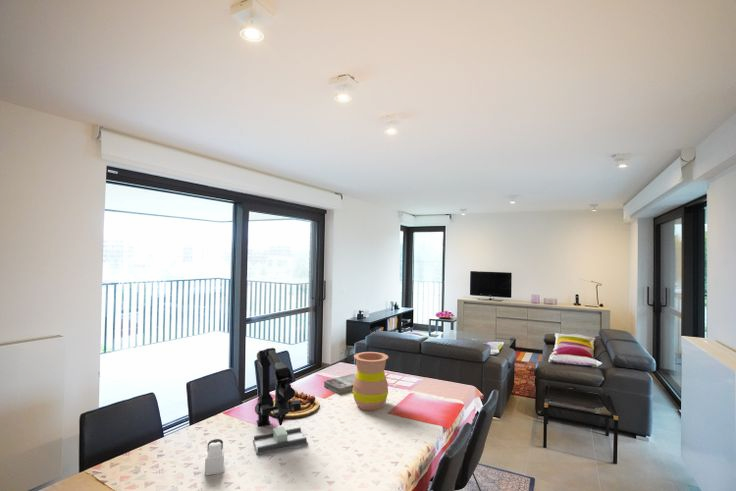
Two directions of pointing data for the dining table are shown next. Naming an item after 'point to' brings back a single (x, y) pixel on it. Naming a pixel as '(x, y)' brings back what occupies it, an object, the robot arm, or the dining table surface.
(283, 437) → the block
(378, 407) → the vase
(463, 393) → the dining table surface
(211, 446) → the white handled block
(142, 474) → the dining table surface
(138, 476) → the dining table surface
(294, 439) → the rail board
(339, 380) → the hard drive
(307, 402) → the wooden plate with food
